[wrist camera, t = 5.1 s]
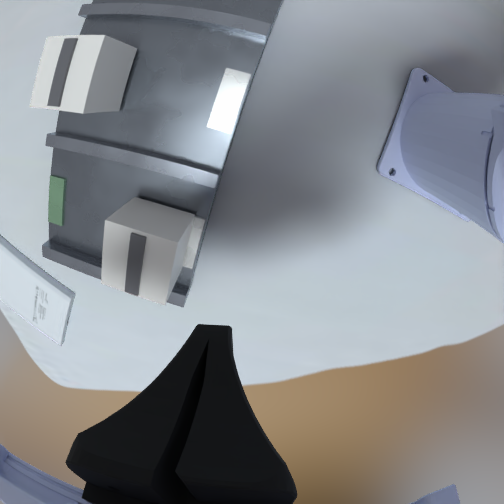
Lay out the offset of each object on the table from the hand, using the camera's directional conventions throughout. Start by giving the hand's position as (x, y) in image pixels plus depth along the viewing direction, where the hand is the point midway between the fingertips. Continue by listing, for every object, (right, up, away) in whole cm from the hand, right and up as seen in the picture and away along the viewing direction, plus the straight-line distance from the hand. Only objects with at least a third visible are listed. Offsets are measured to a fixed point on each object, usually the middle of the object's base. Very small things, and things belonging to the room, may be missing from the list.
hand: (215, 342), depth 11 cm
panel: (-5, +14, +4) cm, 15 cm away
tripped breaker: (-4, +5, +7) cm, 9 cm away
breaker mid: (-8, +14, +2) cm, 16 cm away
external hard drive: (-22, 0, +12) cm, 25 cm away
